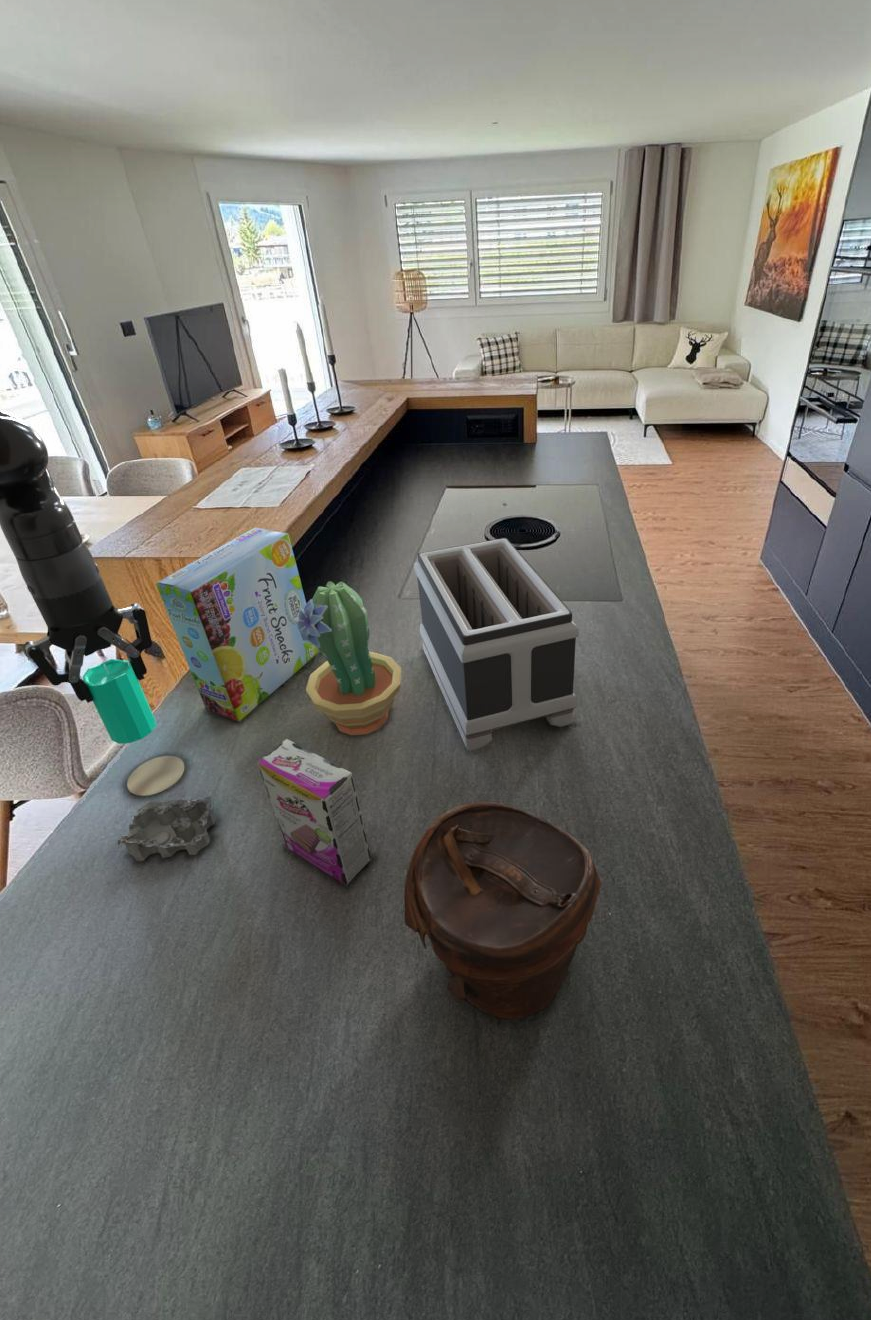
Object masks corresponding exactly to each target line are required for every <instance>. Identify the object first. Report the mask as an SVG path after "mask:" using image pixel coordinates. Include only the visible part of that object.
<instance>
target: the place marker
mask: <svg viewBox="0 0 871 1320" xmlns="http://www.w3.org/2000/svg"><path fill="white" fill-rule="evenodd" d="M184 772H185V763H184V761H183V760H182V759H181V758H179V757H178V756H174V755H163V756H158V757H154V758H151V759H149V760H147V761H145V762H143V763H142V764H140V765H139V766H137V768H135V769H134V770H133V771H132V773H131V774H130V775H129V777H128V779H127V782H126V786H127V790H128V791H129V793H131V795H134V796H138V797H149V796H150V797H151V796H154V795H159V794H160V793H163V792H165V791H167V790H168V789H170V788H172V787H173V786H174V785H175V784H177V782H178V781H180V780H181V778H182V776H183V775H184Z"/></svg>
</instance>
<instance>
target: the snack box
mask: <svg viewBox="0 0 871 1320" xmlns="http://www.w3.org/2000/svg"><path fill="white" fill-rule="evenodd" d="M299 573H300V572H299V570H298V566H297V561H296V558H295V554H294V551H293V547H292V543H291V538H290V534H289V532H280V531H276V530H275V531H274V530H270V529H267V528H261V527H253V528H251V529H250V530H248V531H246V532H244V533H243V534H241V535H239V536H238V537H235V538H233V539H232V540H229V541H227V542H226V543H225V544H223V545H221V546H220V547H217V548H216V549H214V550H212V551H210V552H209V553H207V554H205V555H204V556H202V557H200V558H198V559H196V560H194V561H192V562H191V563H188V564H187V565H186V566H184V567H182V568H180V569H178V570H177V571H175V572H173V573H171V574H169V575H168V576H166V577H164V578H163V579H160V580H159V581H157V582H156V583H155V586H156V588H157V591H158V594H159V597H160V598H161V601H162V603H163V605H164V608H165V611H166V614H167V616H168V618H169V620H170V621H169V622H170V624H171V625H172V628H173V630H174V633H175V636H176V638H177V641H178V643H179V646H180V648H181V650H182V653H183V656H184V658H185V660H186V663H187V666H188V668H189V671H190V672H191V676H192V678H193V681H194V683H195V686H196V689H197V691H198V693H199V696H200V698H201V701H202V703H203V706H204V708H205V710H206V711H208V712H211V713H214V714H216V715H218V716H219V715H220V716H223V717H225V718H228V719H231V720H234V721H236V722H239V723H240V722H241V721H242V720H244V718H245V717H246V716H248V714H250V713H251V712H252V711H253V710H254V709H256V708H257V707H258V706H259V705H260V704H261V703H262V702H263V701H264V700H266V699H267V698H268V697H269V696H270V695H271V694H273V693H274V692H275V691H276V690H277V689H279V688H280V687H281V686H282V685H283V684H284V683H285V682H287V681H288V680H289V679H290V678H292V676H293V675H295V674H296V673H297V672H299V670H301V669H302V668H303V667H304V666H305V665H307V663H309V662H310V661H311V660H312V659H313V658H314V657H316V655H318V654H319V653H320V650H319V649H318V648H317V647H316V646H315V645H314V644H312V643H311V642H310V641H308V642H307V641H306V640H305V641H303V639H302V636H301V634H300V630H299V629H298V624H297V621H299V618H298V616H299V613H300V610H301V609H304V607H305V605H306V604H307V601H306V597H305V593H304V590H303V585H302V581H301V577H300V574H299Z"/></svg>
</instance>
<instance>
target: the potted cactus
mask: <svg viewBox="0 0 871 1320" xmlns="http://www.w3.org/2000/svg"><path fill="white" fill-rule="evenodd" d="M368 616H369V615H368V611H367V609H366V608H365V606H364V603H363V598H362V597H361V596H360V595H359V593H357V592H356V590H354V589H353V588H351V587H350V586H349V585H347V584H346V583H345V582H343V581H339V582H337V583H336V584H335V583H334V582H333V581H331V580H330V581H327V583H326V585H325V586H317V589H316V590H315V592H314V595H313V597H312V598H311V599H309V600H308V602H306V605H305V607H304V609H301V610H300V613H299V616H298V618H299V621H297V624H298V629H299V630H300V634H301V636H302V639H303V641H305V640H306V641H307V642H308V641H310V642H311V643H312V644H314V645H315V646H316V647H317V648H318V650H319V652H320V653H321V655H323V656H324V657H325V659H326V661H324V663H322V664H321V665H320V666H319V667H317V668H316V669H315V670H314V671H313V672H312V673H310V675H309V678H308V681H307V684H306V686H305V687H306V688H305V691H306V694H307V695H308V697H309V698H310V700H311V702H312V703H313V705H314V707H315V708H316V709H317V710H318V711H319V712H323V713H324V714H325V716H326V717H327V718H328V720H329V721H331V722H333V723H334V724H335V726H336V728H337V729H338V731H339V732H342V733H344V734H347V735H349V736H359V735H363V736H364V735H367V734H370V733H372V732H374V731H377V730H380V728H381V727H383V725H384V724H385V723H386V722H387V721H388V719H389V718H388V717H389V710H390V709H391V708H392V706H393V704H394V701H395V697H396V695H397V694H398V693H399V692H400V689H401V681H402V671H403V669H402V667H401V666H400V665H399V664H398V662H396V660H394V659H393V658H392V657H391V656H388V655H385V654H381V653H377V652H375V651H369V641H370V625H369V624H370V623H369V617H368Z"/></svg>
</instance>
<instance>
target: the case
mask: <svg viewBox="0 0 871 1320" xmlns="http://www.w3.org/2000/svg"><path fill="white" fill-rule="evenodd" d="M598 873H599V872H598V870H597V868H596V865H595V863H594V861H593V858H592V855H591V853H590V852H589V850H588V849H587V848H586V847H585V845H583V844H582V843H581V842H580V841H579V840H578V839H577V838H575V837H574V836H573V835H572V834H571V833H569V832H568V831H566V830H565V829H563V828H561V827H560V826H558V825H557V824H555V823H553V822H552V821H550V820H548V819H547V818H544V817H541V816H539V815H536V814H533V813H531V812H529V811H526V810H524V809H522V808H518V807H515V806H512V805H507V804H504V803H500V802H493V801H475V802H474V801H473V802H467V803H464V804H462V805H458V806H456V807H453V808H451V809H450V810H447V811H445V812H444V813H442V814H441V815H440V816H438V817H437V818H436V819H435V820H434V821H433V822H432V824H430V825H429V827H428V828H427V829H426V830H425V832H424V833H423V835H422V836H421V838H420V839H419V841H418V843H417V845H416V846H415V847H414V851H413V853H412V856H411V858H410V862H409V866H408V869H407V872H406V877H405V883H404V892H403V897H404V898H403V902H404V903H403V904H404V924H405V925H406V926H407V928H408V929H410V930H412V931H413V932H414V933H417V934H418V936H419V939H420V940H421V943H422V946H423V948H424V949H425V950H427V944H426V936H427V938H428V939H429V941H430V944H431V947H432V950H433V953H434V954H435V956H436V957H437V959H439V960H440V961H441V963H443V964H444V966H445V968H446V970H447V972H448V974H449V976H450V977H451V979H450V980H449V983H448V985H447V991H449V992H450V993H451V995H452V996H453V997H455V998H456V1000H458V1001H460V1002H463V1001H464V1000H465V999H467V1001H468V1002H470V1004H471V1005H473V1006H475V1008H477V1009H478V1010H481V1011H482V1012H485V1013H486V1014H488V1015H491V1016H494V1017H497V1018H502V1019H520V1018H524V1017H529V1016H531V1015H533V1014H535V1013H537V1012H539V1011H540V1010H543V1009H544V1008H545V1007H546V1006H548V1005H549V1004H550V1003H551V1002H552V1000H554V998H555V997H556V995H557V994H558V992H559V990H560V988H561V986H562V984H563V982H564V979H565V977H566V974H567V972H568V970H569V968H570V966H571V963H572V960H573V958H574V956H575V954H576V951H577V948H578V947H579V945H580V944H581V943H582V942H583V941H584V939H585V938H586V935H587V929H588V927H589V923H590V922H591V920H592V918H593V915H594V912H595V909H596V904H597V902H598V896H599V895H600V890H601V886H602V880H601V878H600V876H599V874H598Z"/></svg>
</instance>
